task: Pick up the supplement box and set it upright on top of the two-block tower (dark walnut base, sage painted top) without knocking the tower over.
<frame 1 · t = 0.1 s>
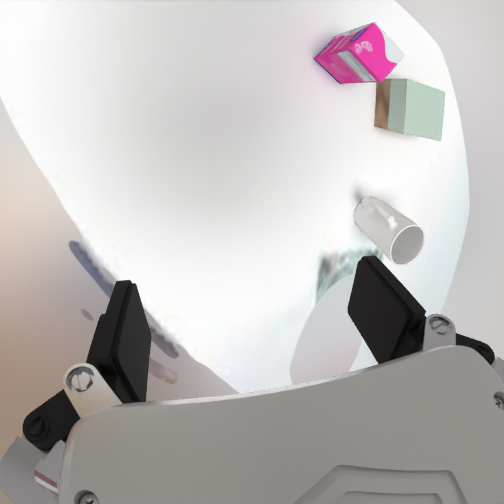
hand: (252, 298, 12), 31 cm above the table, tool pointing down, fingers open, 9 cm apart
mug: (364, 206, 47), on the table
walnut base block: (394, 106, 38), on the table, touching sage top block
sage top block: (409, 108, 35), point 4 cm above the table, touching walnut base block
supplement box: (336, 59, 34), on the table
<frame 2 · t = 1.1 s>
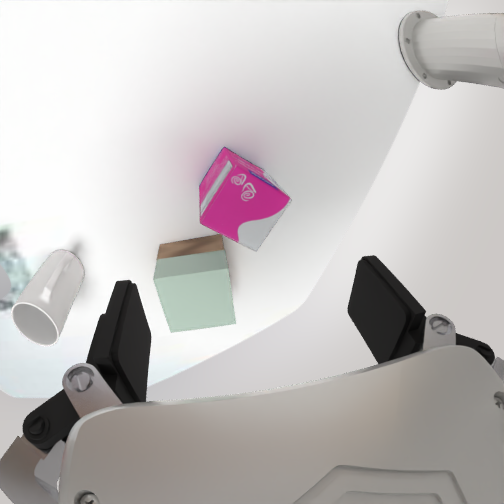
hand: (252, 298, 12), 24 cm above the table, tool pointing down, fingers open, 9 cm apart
mug: (70, 260, 34), on the table
walnut base block: (196, 264, 38), on the table, touching sage top block
sage top block: (196, 282, 35), point 4 cm above the table, touching walnut base block
supplement box: (231, 176, 33), on the table
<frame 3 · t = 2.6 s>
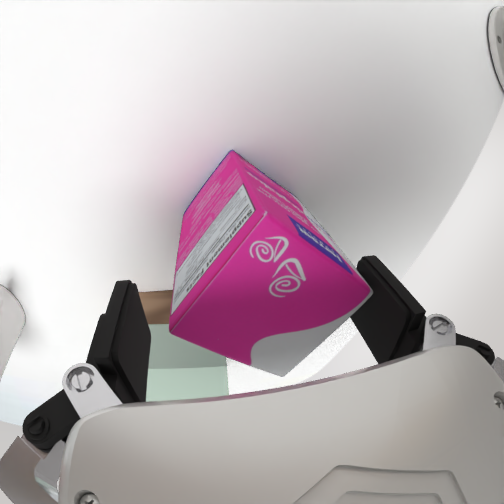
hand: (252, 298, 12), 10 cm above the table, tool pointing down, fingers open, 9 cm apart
mug: (7, 296, 20), on the table
walnut base block: (175, 323, 25), on the table, touching sage top block
sage top block: (174, 358, 21), point 4 cm above the table, touching walnut base block
supplement box: (239, 202, 20), on the table
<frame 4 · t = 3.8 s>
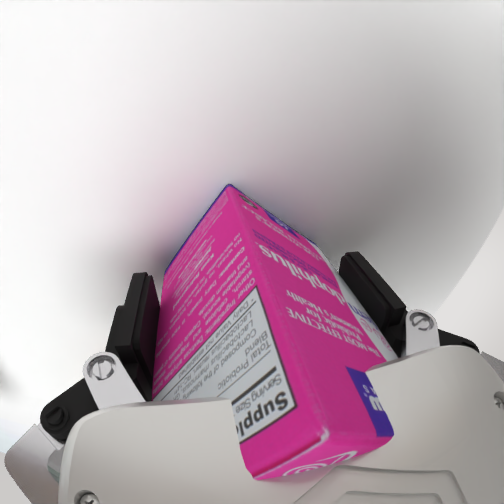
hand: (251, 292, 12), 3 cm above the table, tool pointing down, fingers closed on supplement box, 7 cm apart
supplement box: (240, 253, 15), on the table, touching gripper
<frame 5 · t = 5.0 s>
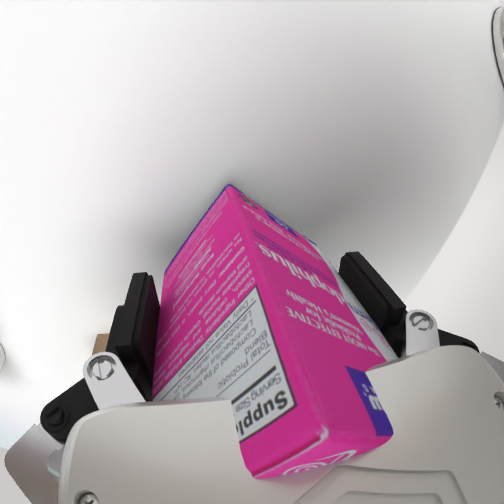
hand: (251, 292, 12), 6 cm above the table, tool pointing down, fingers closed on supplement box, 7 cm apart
supplement box: (240, 253, 15), point 3 cm above the table, touching gripper
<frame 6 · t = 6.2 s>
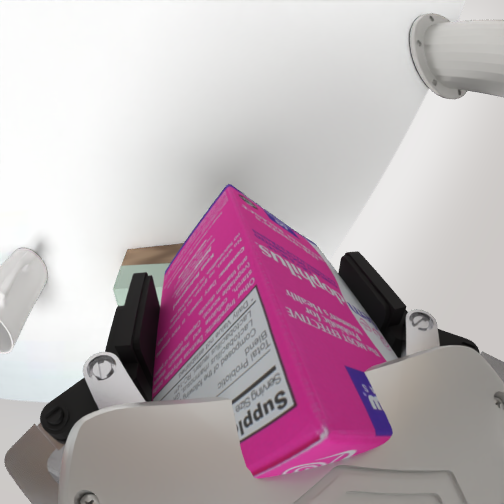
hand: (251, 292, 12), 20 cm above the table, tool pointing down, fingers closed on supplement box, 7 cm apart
mug: (33, 259, 29), on the table
walnut base block: (166, 274, 33), on the table, touching sage top block
sage top block: (163, 295, 30), point 4 cm above the table, touching walnut base block
supplement box: (240, 253, 15), point 16 cm above the table, touching gripper
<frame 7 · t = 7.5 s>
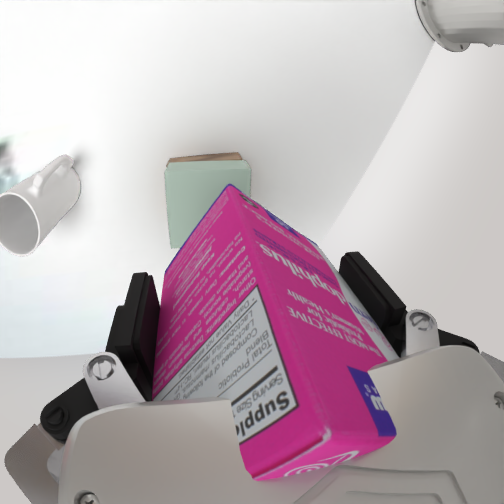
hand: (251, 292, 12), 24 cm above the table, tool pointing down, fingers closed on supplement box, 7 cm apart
mug: (67, 175, 30), on the table
walnut base block: (206, 186, 34), on the table, touching sage top block
sage top block: (207, 196, 31), point 4 cm above the table, touching walnut base block
supplement box: (240, 253, 15), point 21 cm above the table, touching gripper
when the fingers open (12 cm above the table, at t = 10.6 s): supplement box drops 1 cm, resting on sage top block.
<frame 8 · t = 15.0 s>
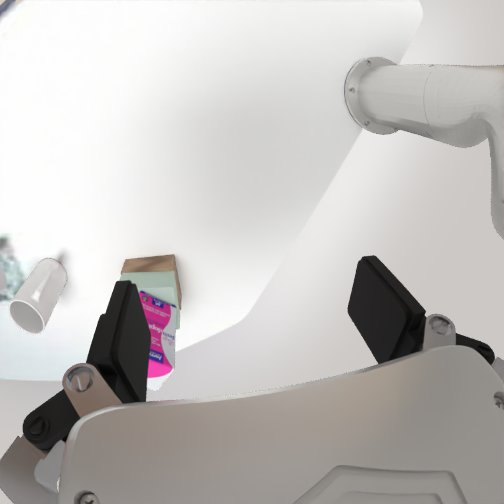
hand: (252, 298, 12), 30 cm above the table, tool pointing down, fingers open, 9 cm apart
mug: (56, 266, 41), on the table
walnut base block: (154, 277, 45), on the table, touching sage top block
sage top block: (151, 293, 42), point 4 cm above the table, touching supplement box, walnut base block
supplement box: (151, 309, 39), point 8 cm above the table, touching sage top block
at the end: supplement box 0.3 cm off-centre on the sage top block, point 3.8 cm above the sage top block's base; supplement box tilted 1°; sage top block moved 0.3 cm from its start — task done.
